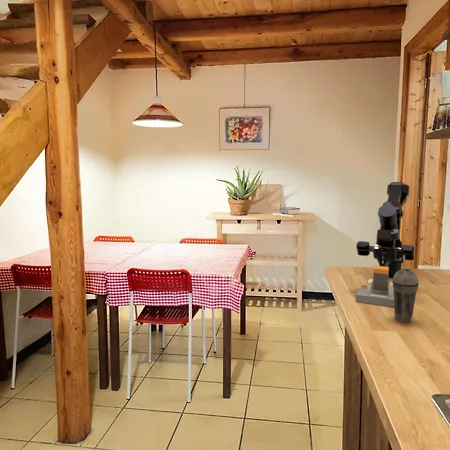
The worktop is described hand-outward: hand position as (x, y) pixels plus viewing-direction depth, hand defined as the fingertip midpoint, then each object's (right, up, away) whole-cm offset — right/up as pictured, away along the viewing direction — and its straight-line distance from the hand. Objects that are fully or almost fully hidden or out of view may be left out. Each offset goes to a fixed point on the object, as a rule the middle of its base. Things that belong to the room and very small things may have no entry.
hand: (381, 270), depth 139 cm
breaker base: (0, -10, +2) cm, 10 cm away
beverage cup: (0, -13, -16) cm, 21 cm away
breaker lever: (0, -6, +1) cm, 6 cm away
